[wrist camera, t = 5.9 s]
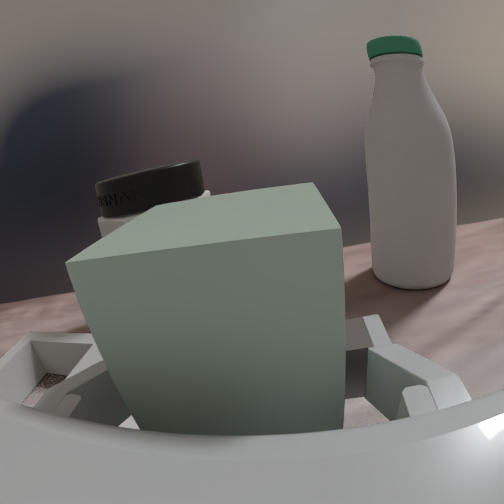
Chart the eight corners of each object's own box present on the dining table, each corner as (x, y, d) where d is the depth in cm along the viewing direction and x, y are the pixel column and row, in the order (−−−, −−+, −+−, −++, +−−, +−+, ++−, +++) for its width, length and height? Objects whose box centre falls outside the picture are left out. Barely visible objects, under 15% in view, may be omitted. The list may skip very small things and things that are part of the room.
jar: (116, 321, 26) (77, 188, 22) (183, 284, 32) (156, 166, 28) (177, 354, 21) (128, 175, 17) (251, 301, 26) (225, 153, 22)
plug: (327, 428, 13) (312, 182, 9) (334, 520, 8) (341, 227, 5) (222, 433, 14) (156, 205, 10) (203, 520, 9) (64, 262, 5)
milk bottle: (467, 285, 22) (452, 32, 15) (383, 297, 23) (356, 26, 17) (433, 252, 29) (417, 53, 22) (364, 260, 30) (340, 52, 24)
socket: (188, 356, 20) (176, 318, 19) (123, 514, 9) (89, 481, 8) (29, 349, 23) (16, 320, 22) (-47, 433, 11) (-70, 401, 10)
